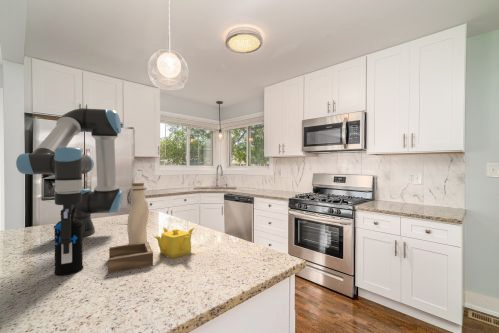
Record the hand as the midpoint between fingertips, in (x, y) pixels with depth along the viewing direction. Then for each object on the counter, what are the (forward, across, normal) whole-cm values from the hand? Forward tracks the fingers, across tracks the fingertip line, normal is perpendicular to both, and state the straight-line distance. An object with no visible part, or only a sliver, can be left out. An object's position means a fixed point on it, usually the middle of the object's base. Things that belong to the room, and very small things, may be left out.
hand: (69, 258), depth 84 cm
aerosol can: (+4, 0, 0) cm, 4 cm away
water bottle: (+4, -20, +23) cm, 31 cm away
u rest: (+4, +2, +19) cm, 20 cm away
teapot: (+5, 0, +36) cm, 36 cm away
